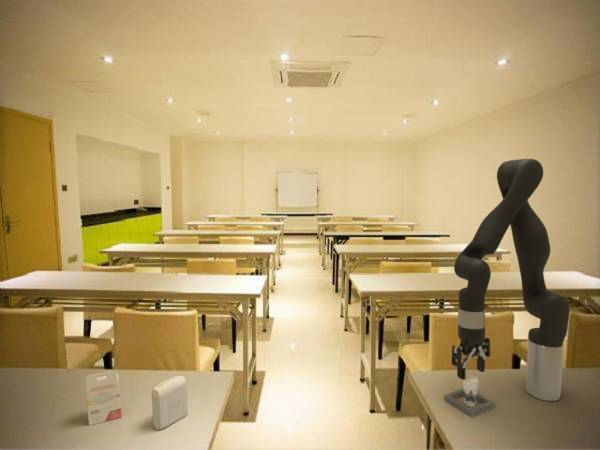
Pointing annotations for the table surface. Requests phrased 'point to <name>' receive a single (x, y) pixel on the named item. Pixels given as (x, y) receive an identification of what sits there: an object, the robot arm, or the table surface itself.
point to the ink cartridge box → (103, 397)
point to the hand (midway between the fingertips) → (471, 374)
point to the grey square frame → (470, 411)
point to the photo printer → (169, 402)
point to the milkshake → (470, 389)
